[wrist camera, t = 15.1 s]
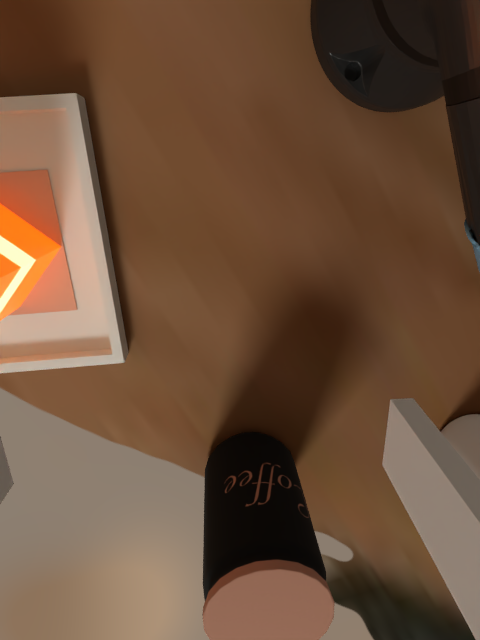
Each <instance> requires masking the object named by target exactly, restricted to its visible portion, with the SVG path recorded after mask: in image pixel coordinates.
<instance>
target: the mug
mask: <svg viewBox="0 0 480 640" xmlns="http://www.w3.org/2000/svg"><path fill="white" fill-rule="evenodd" d="M441 433H442V434H443V436H444V437H445V438H446V439H447V440H448V442H449V443H450V444H451V445H452V447H453V448H454V449H455V450H456V451H457V453H458V454H459V455H460V456H461V458H462V459H463V460H464V461H465V462H466V464H467V465H468V466H469V467H470V468H471V470H472V471H473V472H474V473H475V475H476V476H477V477H478V478H479V479H480V414H470V415H465V416H462V417H459V418H457V419H455V420H453V421H452V422H450V423H449V424H448V425H447V426H445V427H444V429H443V430H442V431H441Z"/></svg>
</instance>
